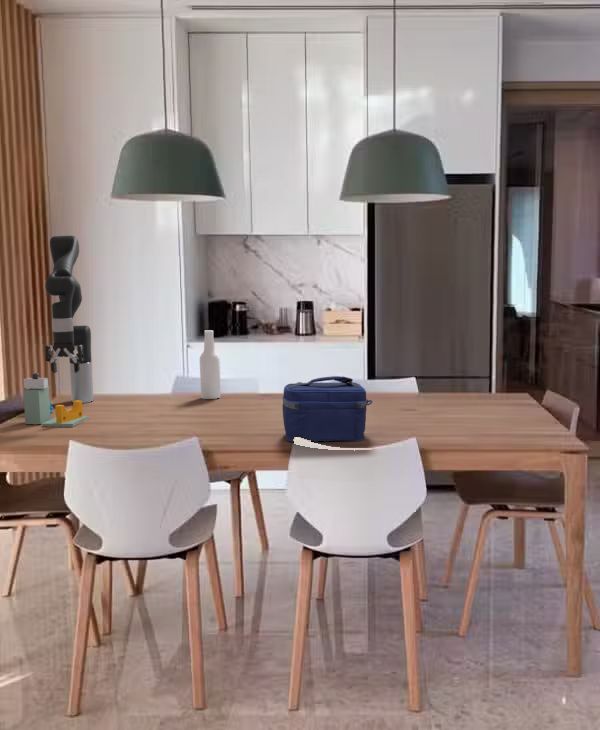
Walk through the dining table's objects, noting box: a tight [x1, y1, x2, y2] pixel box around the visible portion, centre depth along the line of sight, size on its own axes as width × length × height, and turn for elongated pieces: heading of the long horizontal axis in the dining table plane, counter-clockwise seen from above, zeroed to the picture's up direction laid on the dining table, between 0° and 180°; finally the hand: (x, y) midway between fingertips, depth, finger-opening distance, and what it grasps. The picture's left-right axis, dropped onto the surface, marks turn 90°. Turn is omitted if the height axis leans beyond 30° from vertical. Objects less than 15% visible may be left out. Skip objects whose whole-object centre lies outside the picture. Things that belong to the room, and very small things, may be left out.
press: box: [23, 386, 89, 428], centre depth 305 cm, size 15×20×13 cm
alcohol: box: [199, 329, 222, 400], centre depth 351 cm, size 9×9×30 cm
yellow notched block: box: [54, 400, 84, 423], centre depth 305 cm, size 12×4×6 cm, turn 155°
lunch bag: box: [282, 375, 374, 443], centre depth 276 cm, size 31×21×20 cm
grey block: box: [23, 372, 49, 389], centre depth 305 cm, size 4×8×5 cm, turn 83°
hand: (65, 372), depth 303 cm, fingers open, 8 cm apart
